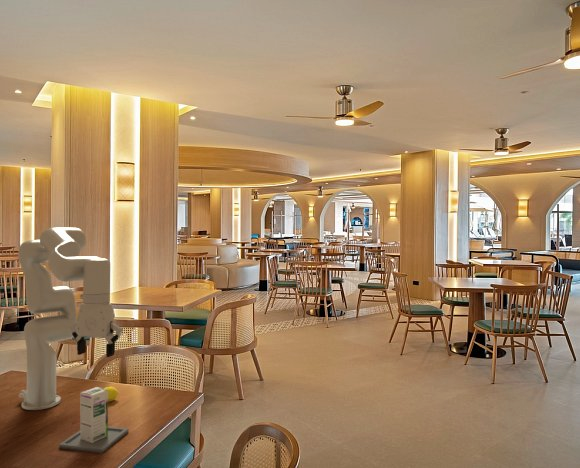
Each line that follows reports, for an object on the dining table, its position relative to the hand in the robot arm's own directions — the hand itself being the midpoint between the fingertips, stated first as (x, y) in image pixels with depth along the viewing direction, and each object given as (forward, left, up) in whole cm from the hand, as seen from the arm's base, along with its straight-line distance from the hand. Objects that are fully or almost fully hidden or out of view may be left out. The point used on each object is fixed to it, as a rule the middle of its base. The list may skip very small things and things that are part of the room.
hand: (95, 354), depth 138 cm
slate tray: (0, 0, -26) cm, 26 cm away
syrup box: (0, 0, -26) cm, 26 cm away
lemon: (-14, +29, -26) cm, 42 cm away
